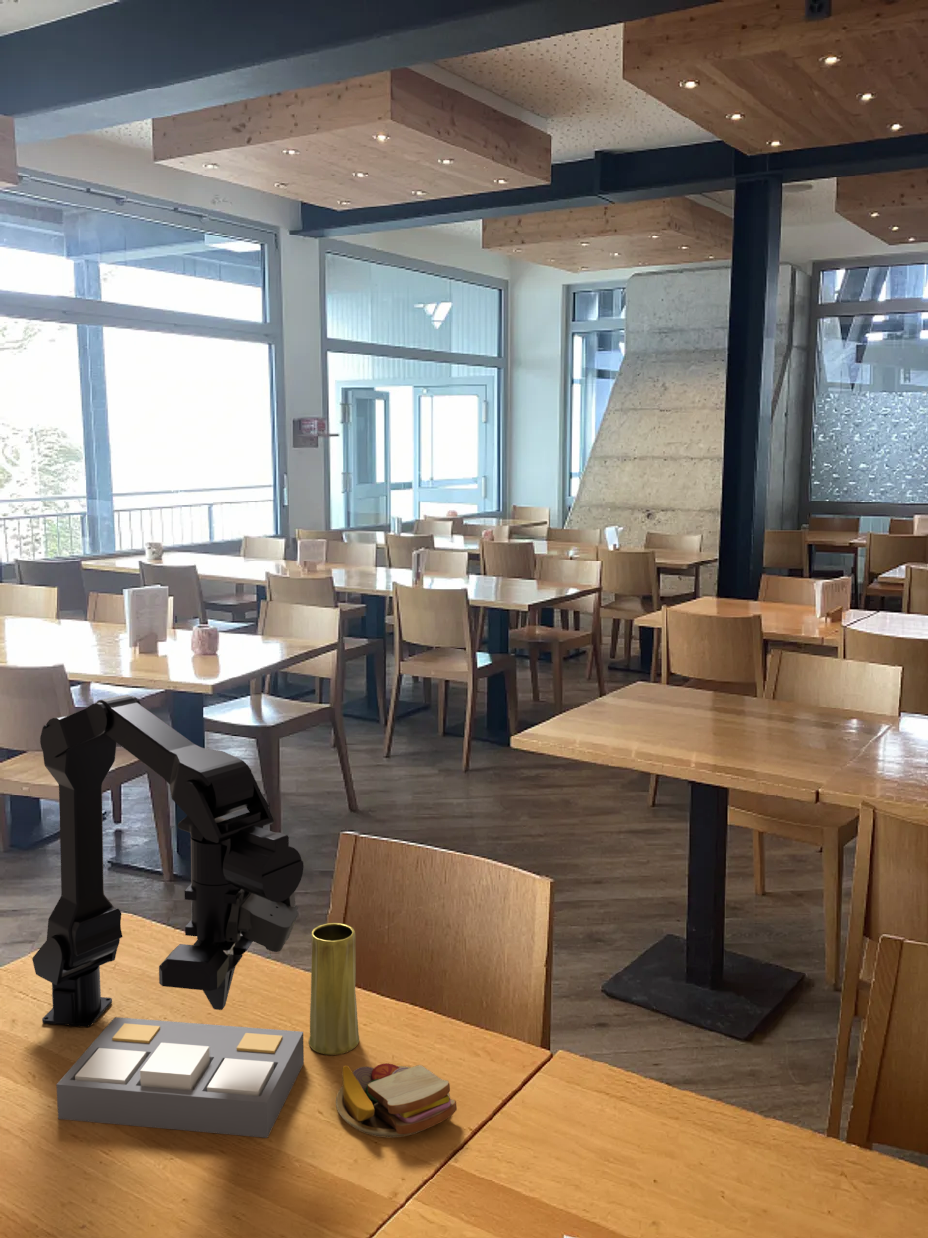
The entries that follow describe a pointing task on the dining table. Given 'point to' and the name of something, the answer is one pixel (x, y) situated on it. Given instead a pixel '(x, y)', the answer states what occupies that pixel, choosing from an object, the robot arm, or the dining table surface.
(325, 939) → the vase
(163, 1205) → the dining table surface
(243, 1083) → the key
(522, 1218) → the dining table surface
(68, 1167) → the dining table surface
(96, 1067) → the key
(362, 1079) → the toy sandwich meal
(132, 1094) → the key panel
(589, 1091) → the dining table surface
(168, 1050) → the key middle
